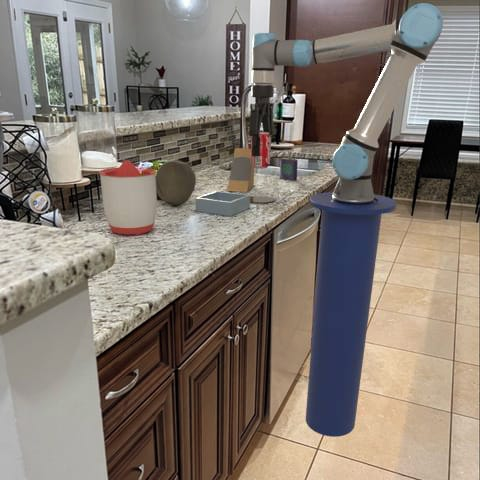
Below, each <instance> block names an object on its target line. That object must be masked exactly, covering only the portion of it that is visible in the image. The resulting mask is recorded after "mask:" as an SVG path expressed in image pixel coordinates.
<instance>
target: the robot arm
mask: <svg viewBox="0 0 480 480" xmlns="http://www.w3.org/2000/svg"><path fill="white" fill-rule="evenodd" d="M443 19H444V18H443V15H442V13H441V11H440V9H438V8H437V7H436V6H435V5H433V4H431V3H427V2H421V3H417V4H415V5H412V6H411V7H409V8H408V9H407V10H406V11H405V12H404V13H403V14H402V16H401V18H397V19H394V20H393V22H392V23H391V24H386V25H382V26H377V27H372V28H367V29H363V30H361V29H360V30H358V31H352V32H348V33H343V34H338V35H333V36H328V37H324V38H323V37H322V38H319V39H315V40H308V39H302V38H301V39H285V40H281V39H277V37H276V33H272V32H257V33H254V35H253V38H252V47H251V52H252V54H251V55H252V57H251V62H252V63H251V70H252V71H251V75H250V76H251V83H252V84H253V85H251V98H254V103H250V104H249V108H250V112H249V113H250V114H249V129H248V135H249V137H252V156H260V137H259V133H260V132H261V127H262V132H268V133H269V135H270V136H272V135H273V134H274V103H273V102H271V101H270V98H273V97H274V93H275V92H274V91H275V87H274V84H275V66H278V67H279V66H285V67H286V66H287V67H288V66H289V67H297V68H308V67H309V66H314V65H319V64H325V63H329V62H335V61H341V60H347V59H351V58H357V57H361V56H362V57H363V56H368V55H371V54H372V55H373V54H378V53H383V52H388V51H390V56H389V58H388V59H387V62H386V63H385V65H384V68H383V70H382V71H381V74H380V75H379V76H378V77H379V78H378V79H377V82H376V83H375V86H374V87H373V89H372V91H371V94H370V95H369V97H368V99H367V101H366V103H365V105H364V107H363V109H362V111H361V113H360V115H359V117H358V118H357V121H356V123H355V125H354V127H353V128H351V129H349V130H347V131H346V133H345V135H344V136H343V137H342V140H341V142H340V145H339V147H338V148H336V150H335V151H334V153H333V155H332V161H331V162H332V163H331V164H332V168H333V170H334V172H335V174H336V175H337V176H338V180H337V183H336V185H335V187H334V190H333V191H332V192H333V195H332V200H333V201H335V202H338V203H343V204H353V205H363V204H370V203H373V202H374V200H375V201H378V199H376V198H375V197H374V194H375V193H374V187H373V183H372V177H373V166H374V159H375V158H374V157H375V155H376V153H377V151H378V150H379V147H380V145H379V142H378V140H379V138H380V135H381V134H382V132H383V130H384V128H385V126H386V124H387V122H388V121H389V119H390V117H391V115H392V113H393V112H394V109H395V108H396V106H397V104H398V102H399V100H400V99H401V96H402V95H403V92H404V91H405V90H406V87H407V85H408V83H409V81H410V79H411V78H412V76H413V74H414V72H415V71H416V68H417V66H420V65H421V64H423V63H425V62H426V60H427V59H428V57H429V54H430V53H431V51H432V49H433V47H434V46H435V44H436V42H437V41H438V40H439V38H440V37H441V33H442V30H443V26H444V20H443Z"/></svg>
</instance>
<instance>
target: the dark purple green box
mask: <svg viewBox="0 0 480 480" xmlns="http://www.w3.org/2000/svg"><path fill="white" fill-rule="evenodd" d="M298 162H299V161H298V159H296V158H293V156H292V154H287V157H281V158H280V167H279V168H280V169H279V170H280V171H279V179H281V180H288V181H291V182H292V181H293V182H296V181H298Z"/></svg>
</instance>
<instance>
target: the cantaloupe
mask: <svg viewBox="0 0 480 480" xmlns="http://www.w3.org/2000/svg"><path fill="white" fill-rule="evenodd" d="M155 176H156V194H157V196H158V197H159V199H160V200H161V201H162V202H164V203H165V204H167V205H170V206H173V207H174V206H175V207H177V206H181V205H184V204H185V203H186V202H188V201H189V200H190V198H191V197H192V195H193V193H194V191H195V187H196V183H197V179H196V178H197V177H196V173H195V171H194V169H193V168H192V167H191V165H189V164H188V163H187V162H185V161H181V160H168V161H165V162H163V163H161V165H160V166H159V167H158V169H157V170H156V173H155Z"/></svg>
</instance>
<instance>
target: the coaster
mask: <svg viewBox="0 0 480 480" xmlns="http://www.w3.org/2000/svg"><path fill="white" fill-rule="evenodd" d="M274 202H275V198H273V197H270V196H266V195H265V196H264V195H252V196H251V195H250V204H270V203H274Z"/></svg>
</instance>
